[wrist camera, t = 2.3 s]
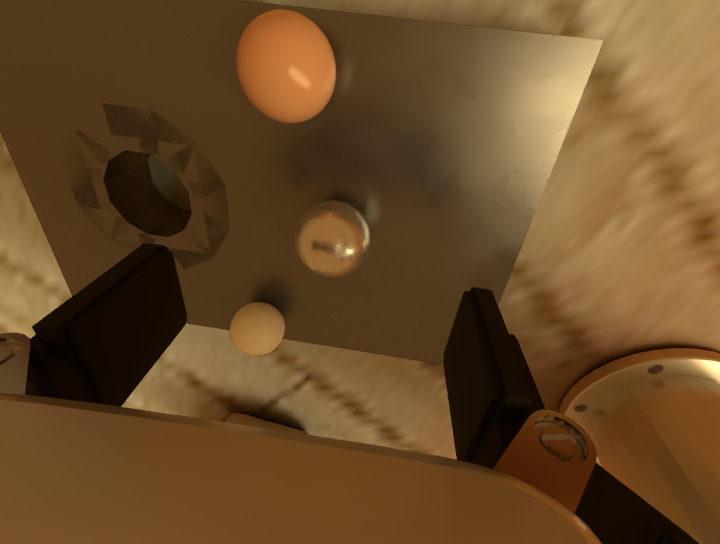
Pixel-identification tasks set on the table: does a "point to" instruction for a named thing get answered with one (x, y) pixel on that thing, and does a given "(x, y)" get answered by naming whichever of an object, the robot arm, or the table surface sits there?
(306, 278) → the grey metal slab
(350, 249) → the steel ball
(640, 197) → the table surface
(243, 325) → the cream ball
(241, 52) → the terracotta ball
